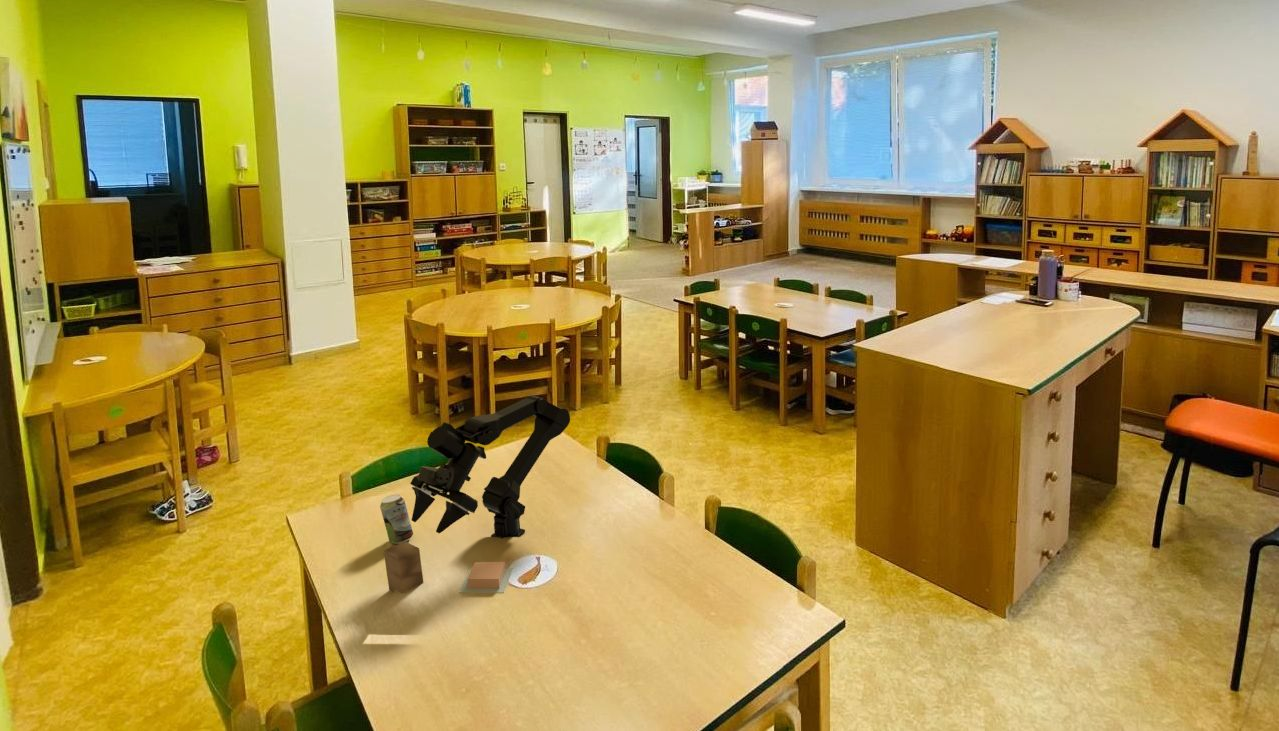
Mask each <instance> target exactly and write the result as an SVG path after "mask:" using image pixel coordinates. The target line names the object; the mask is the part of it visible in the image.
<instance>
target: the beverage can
mask: <svg viewBox="0 0 1279 731" xmlns="http://www.w3.org/2000/svg"><path fill="white" fill-rule="evenodd" d="M380 502H381V503H380V506H379V508H380V511H381V515H382V518H383V519H382V520H383V523H384V527H385V530H386V533H387V537H388V541H389V542H390V543H392V544H394V545H395V544H396V545H398V544H400V543H402V542H404V541H405V542H408V541H409V540H410V539H411V538H412V537H413V536H414V530H413V528H412V523H411V520H410V519H411V518H410V516H409V512H408V509H407V504H406V501H405V499H404V498H403V497H402V495H401V494H391V495H389V496H388V495H387V496H386V497H383V498H382V499H381V500H380Z"/></svg>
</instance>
